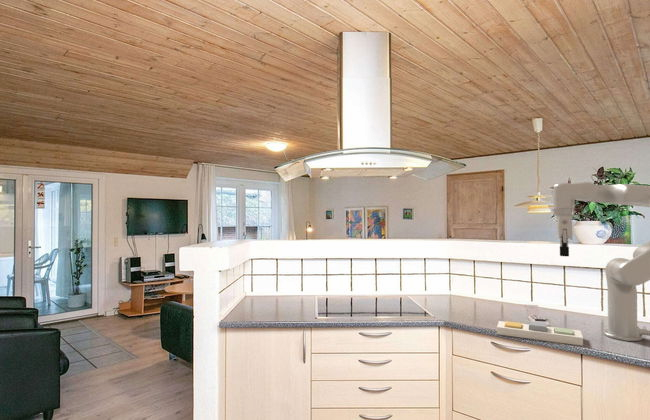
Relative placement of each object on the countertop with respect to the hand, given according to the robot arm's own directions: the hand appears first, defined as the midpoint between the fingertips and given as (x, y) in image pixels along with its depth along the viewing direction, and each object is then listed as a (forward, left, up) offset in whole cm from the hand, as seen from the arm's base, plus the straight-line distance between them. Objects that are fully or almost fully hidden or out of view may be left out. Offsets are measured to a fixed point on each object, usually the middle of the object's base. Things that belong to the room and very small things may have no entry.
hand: (564, 255), depth 164 cm
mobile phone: (+10, -9, -33) cm, 35 cm away
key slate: (+10, +11, -30) cm, 33 cm away
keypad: (+10, +11, -32) cm, 35 cm away
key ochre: (+19, +11, -31) cm, 38 cm away
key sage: (+1, +11, -31) cm, 33 cm away
